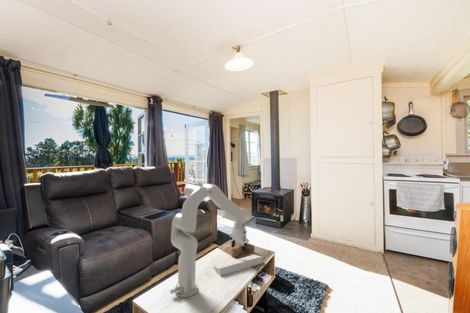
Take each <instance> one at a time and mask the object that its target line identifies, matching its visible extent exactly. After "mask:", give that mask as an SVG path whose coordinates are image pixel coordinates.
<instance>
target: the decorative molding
mask: <svg viewBox="0 0 470 313" xmlns="http://www.w3.org/2000/svg"><path fill="white" fill-rule="evenodd" d="M261 264H263V257H262V256H261V255H256V254H252V255H249V256H248V255H247V256H244V257H240V258H237V259H233V260H230V261H226V262H223V263H219V264H215V265H213V266H212V267H213V270H214V271H215V272H216V273H217V274H218V275H219V277H222V275H223V276H225V275H229V274H232V273H235V271H236V272H238V271H243V270H245V269H247V268H251V267H254V266H258V265H261Z"/></svg>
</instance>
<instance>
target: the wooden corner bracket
mask: <svg viewBox="0 0 470 313" xmlns="http://www.w3.org/2000/svg"><path fill="white" fill-rule="evenodd" d="M242 246H243V245H242V244H239V245H237V246H235V247H233V248H232V249H231V257H232V258H233V257H234V258H235V256H236V257H237V256H240V255H241V254H244V252H248V253H251V254H255V245H254V244H251V243H249V242H248V244H247V245H246V250H245V251H244V252H242Z"/></svg>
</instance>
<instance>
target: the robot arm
mask: <svg viewBox="0 0 470 313" xmlns="http://www.w3.org/2000/svg"><path fill="white" fill-rule="evenodd" d="M183 194H184V196H185V197H186V199H185V201H183V204H182V209H181V212H178V213H177V214H175V215H174V217H173V219H172V221H171V230H170V233H171V234H170V242H171V244H172V246H173V247H175V248H176V249H178V250H179V252H180V254H179V256H178V263H177V264H178V265H177V266H178V269H177V270H178V272H177V273H178V274H177V276H178V277H177V283H176V286H175V287H174V288H172V289H170V290H169V292H170V294H171V295H172V294H174V295H176V296H177V297H179V298H189V297H192V296H194V295H196V294H197V292H198V290H199V289H198V288H199V287H198V285H197V283H196V255H197V249H198V244H199V242H198V239H197V238H196V237H195V236H194V235H191V233H194V232H195V230H196V228H197V220H198V219H197V218H198V209H199V206H200V204H201V203H202V202H203V201H204V200H205V199H206V198H207V197H208V198H209V199H210V200H211V201H212V202H213V203H214V205H216V207H217V208H219V209H221V210H223V211H224V212H223V214H224V218H226V219H228V220H230V221H233V222H234V223H233V224H234V225H233V227H232V233H230V234H229V239H230V240H231V241H230V242H231V248H232V249H233V248H235V247H236V242H238V243H241V245H243V246H242V252H243V253H244V251H245V250H246V245H247V244H248V243H249V242H250V241H249V239H248V238H247V229H246V208H244V207H241V206H238V205H237V204H236V203H235V202H234V201H232V200H231V199H229V198H228V197H227V196H226V194H225V193H224V192H223V191H222V190H221V189H220V187H219V186H218V185H217V184H213V183H209V182H208V183H207V182H206V183H205V182H203V183H202V182H201V183H189V184H187V185H186V186H185V187H184V189H183ZM245 252H246V251H245Z"/></svg>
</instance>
